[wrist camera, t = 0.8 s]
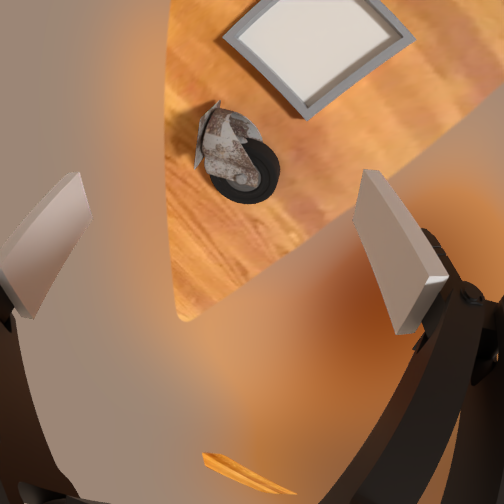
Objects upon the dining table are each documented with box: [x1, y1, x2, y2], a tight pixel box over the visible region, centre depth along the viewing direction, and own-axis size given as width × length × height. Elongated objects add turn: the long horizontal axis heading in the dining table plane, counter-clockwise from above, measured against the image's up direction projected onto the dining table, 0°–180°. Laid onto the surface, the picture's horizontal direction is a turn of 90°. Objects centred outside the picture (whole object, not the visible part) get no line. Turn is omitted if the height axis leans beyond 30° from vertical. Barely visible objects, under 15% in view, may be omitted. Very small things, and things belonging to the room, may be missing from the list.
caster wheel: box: [194, 100, 280, 204], centre depth 34 cm, size 7×11×10 cm
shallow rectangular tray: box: [222, 0, 416, 121], centre depth 25 cm, size 16×14×2 cm
